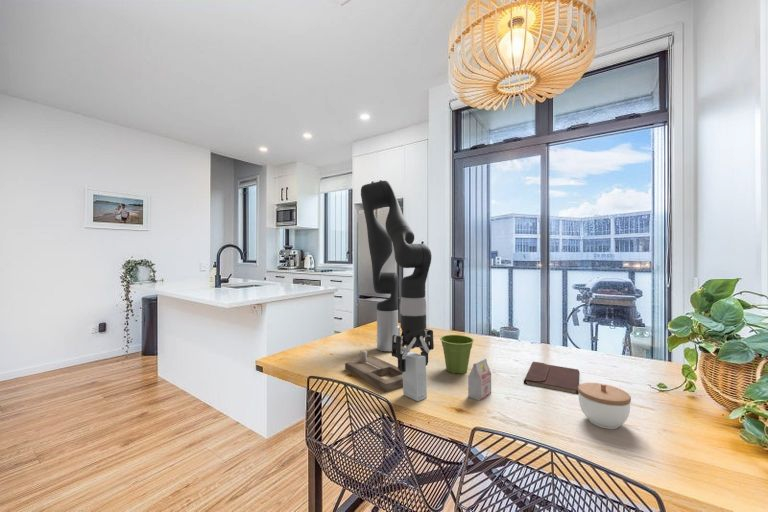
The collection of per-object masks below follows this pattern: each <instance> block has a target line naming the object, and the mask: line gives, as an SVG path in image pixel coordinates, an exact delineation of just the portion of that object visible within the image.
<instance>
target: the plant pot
mask: <svg viewBox="0 0 768 512" xmlns="http://www.w3.org/2000/svg"><path fill="white" fill-rule="evenodd" d="M439 340H440V341H441V346H442V348H443V356H444V362H445V369H446V371H447V372H450V373H452V374H465V373H467V372H468V368H469V367H468V366H469V362H470V356H471V350H472V348H473V343H474V342H475V340H474V338H472V337H470V336H467V335H461V334H446V335H442V336H440V337H439Z"/></svg>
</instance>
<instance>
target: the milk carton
mask: <svg viewBox="0 0 768 512" xmlns="http://www.w3.org/2000/svg"><path fill="white" fill-rule="evenodd" d="M467 376H468V377H467V379H468V380H467V382H468V383H467V384H468V385H467V391H468V392H467V394H468V395H467V397H468V398H471V399H473V400H474V399H475V400H477V401H481V400H483V399H485V398H486V397H488V396H489V395H490V394H492V372H491V369H490V367H489V363H488V361H487V358H482V359H481V360H479V361H476V362H474V363H473V365H472V368H471V370H470V371H469V374H468V375H467Z"/></svg>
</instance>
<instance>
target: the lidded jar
mask: <svg viewBox="0 0 768 512" xmlns="http://www.w3.org/2000/svg"><path fill="white" fill-rule="evenodd" d="M578 392H579V393H578V402H579V407H580V409H581V411H582V413H583V414H584V416H585V417H586V418H587V419H588V421H589V422H590V423H591V424H592V425H594V426H596V427H598V428H602V429H605V430H606V429H607V430H616V429H619V427H620V426H622V425H623V424H624V423H625V422H627V420H628V418H629V416H630V411H631V402H632V398H631V395H630V394H629V393H628V391H627V392H626V391H625V390H623V389H621V388H618V387H616V386H613V385H609V384H606V383H599V382H584V383H579V386H578Z"/></svg>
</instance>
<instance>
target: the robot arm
mask: <svg viewBox="0 0 768 512" xmlns="http://www.w3.org/2000/svg"><path fill="white" fill-rule="evenodd" d="M360 197H361V203H362V204H361V205H362V208H363V209H362V210H363V213H364V217H365V223H366V232H367V242H368V249H369V254H370V260H371V268H372V269H371V270H372V285H373V290H374V292H375V293H376V294H381V295H382V294H383V295H386V294H387V295H390V296H389V297H388V298H386V299H385V300H380V301H378V303H376V350H377V349H378V350H377V351H379V350H380V351H379V352H382V351H392V352H391V357H394V358H397V367H398V369H399V371H401V372H405V371H406V359H405V357H406V355H407V353H409V352H411V350H413V349H415V348H419V350H420V355H423V356H425V357H426V367H427V366H428V364H429V353H430V351H431V350H432V351H433V350H434V347H435V346H434V331H433V329H429V328H427V300H426V299H427V298H426V283H427V279H428V274H429V270H430V267H431V263H432V251H431V249H430V247H429V246H428V245H426V244H425V243H414V241H415V234H414V232H413V229H412V228H411V227H410V225H409V223H408V222H407V220H406V218H405V216H404V214H403V211H402V208H401V206H400V204H399V201H398V199H397V196H396V193H395V191H394V189H393V187H392V185H391V183H390V182H389V181H387V180H378V181H375V182H374V181H373V182H371V183H366V184H363V185H362V186H361V187H360ZM387 207H389V210H388V214H387V217H386V220H385V225H384V224H382V223H381V222H380V221H379V220H378V218H377V216H376V215H375V210H379V209H384V208H387ZM392 254H394V261H395V263H396V264H397V266H399V267H400V268H403V269H413V272H412V273H411V274H410V275H406V276H404V277H403V278H401V281H400V280H399V275H398V273H397V272H381V271H382V268H383V266H385V264H386V263H387V261H388V260H389V259H390V257H391V256H392ZM399 282H400V283H399ZM399 284H401V287H400V293H401V295H400V296H401V297H400V303H399ZM399 304H400V310H399ZM399 313H400V314H399ZM399 315H400V319H399ZM399 320H400V324H399ZM399 325H400V326H399Z"/></svg>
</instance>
